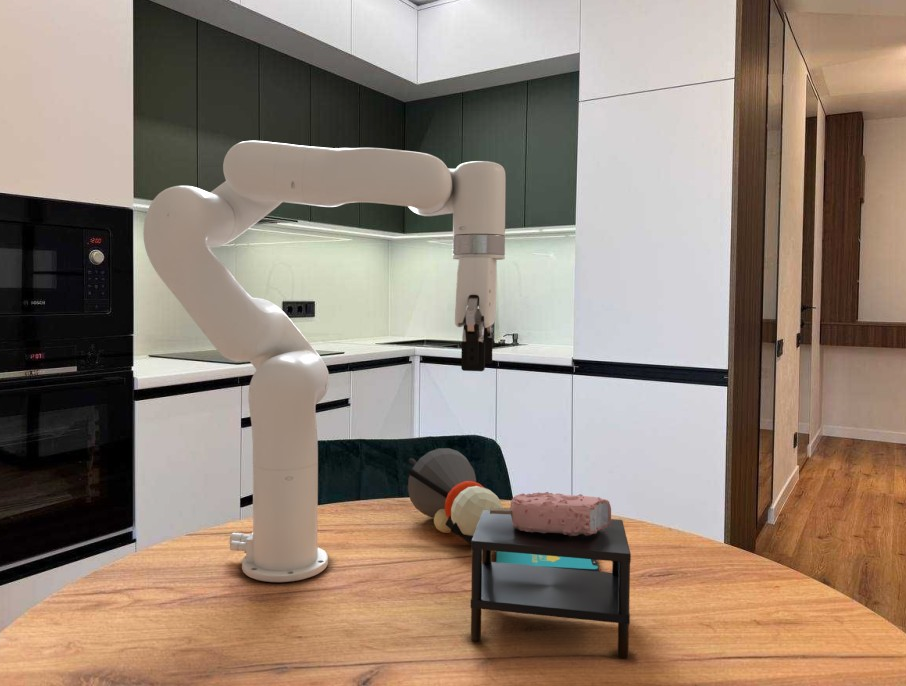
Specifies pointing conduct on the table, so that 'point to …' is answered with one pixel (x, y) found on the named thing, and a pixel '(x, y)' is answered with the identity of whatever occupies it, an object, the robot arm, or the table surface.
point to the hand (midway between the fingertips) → (477, 367)
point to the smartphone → (547, 561)
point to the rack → (551, 575)
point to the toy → (449, 492)
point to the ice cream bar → (558, 513)
